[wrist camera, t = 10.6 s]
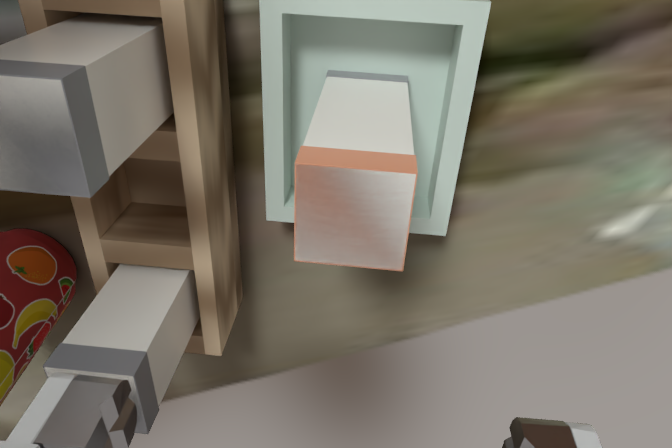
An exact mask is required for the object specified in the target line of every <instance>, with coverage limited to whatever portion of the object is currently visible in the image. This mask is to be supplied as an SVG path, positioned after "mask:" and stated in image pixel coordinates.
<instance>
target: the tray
mask: <svg viewBox="0 0 672 448" xmlns="http://www.w3.org/2000/svg"><path fill="white" fill-rule="evenodd" d="M259 4H260V36H261V67H262V99H263V130H264V162H265V193H266V220H267V221H279V222H290V223H294V193H295V160H296V158H297V155H298V152H299V149H300V147H301V146H303V143H304V140H305V138H306V135H307V132H308V129H309V126H310V123H311V121H312V118H313V115H314V112H315V109H316V106H317V104H318V101H319V98H320V95H321V92H322V89H323V86H324V84H325V81H326V74H327V71H328V70H338V71H351V72H365V73H378V74H391V75H404V76H408V80H409V83H408V93H409V104H410V115H411V125H412V136H413V147H414V155H416V160H417V170H418V175H417V182H416V188H415V195H414V202H413V208H412V215H411V221H410V228H409V233H417V234H428V235H440V236H446V232H447V227H448V222H449V217H450V212H451V207H452V201H453V196H454V191H455V186H456V181H457V176H458V171H459V165H460V160H461V155H462V150H463V145H464V140H465V135H466V129H467V124H468V119H469V114H470V109H471V104H472V99H473V93H474V88H475V83H476V78H477V73H478V68H479V62H480V57H481V52H482V47H483V42H484V37H485V32H486V26H487V21H488V16H489V11H490V6H491V1H490V0H259Z"/></svg>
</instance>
